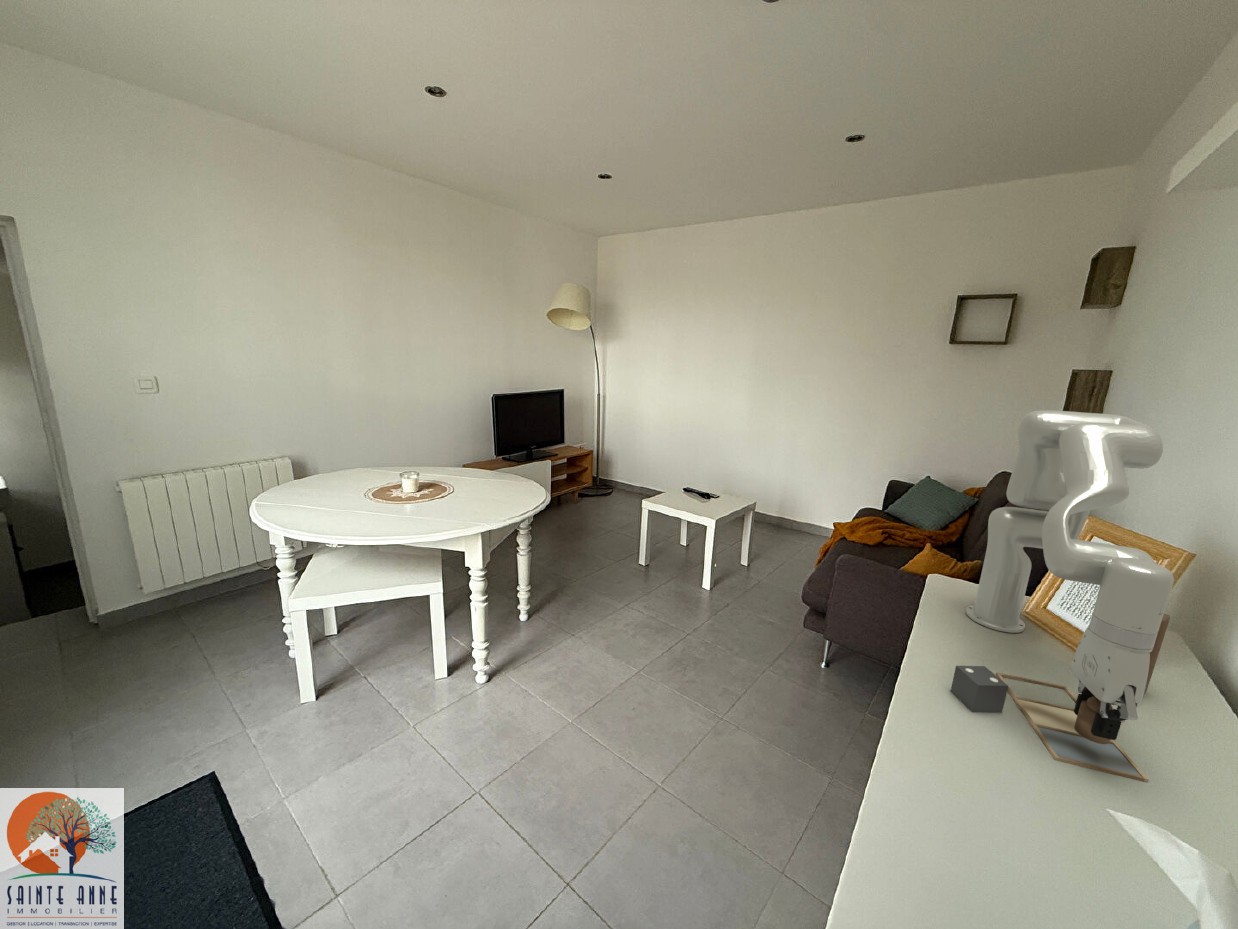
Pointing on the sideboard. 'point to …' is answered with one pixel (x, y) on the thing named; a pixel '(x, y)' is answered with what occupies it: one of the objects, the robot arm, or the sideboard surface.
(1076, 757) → the board
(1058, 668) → the sideboard surface
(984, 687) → the die
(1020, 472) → the robot arm
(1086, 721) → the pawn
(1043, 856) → the sideboard surface
